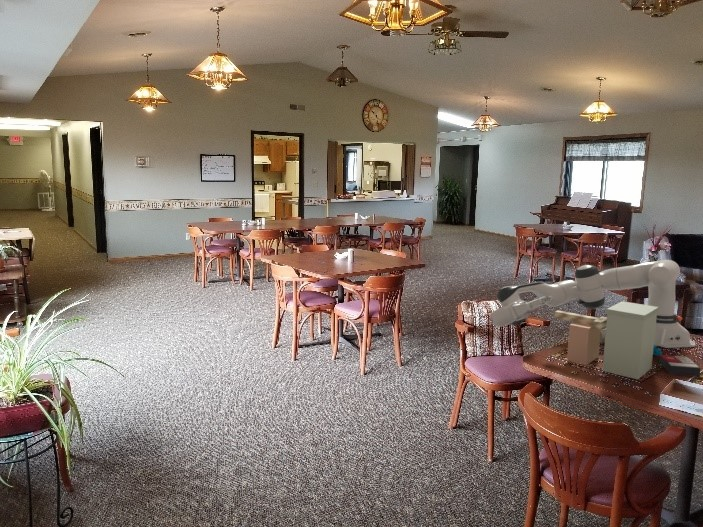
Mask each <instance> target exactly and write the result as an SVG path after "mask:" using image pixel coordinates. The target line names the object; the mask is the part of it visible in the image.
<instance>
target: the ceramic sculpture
mask: <svg viewBox="0 0 703 527" xmlns="http://www.w3.org/2000/svg"><path fill="white" fill-rule="evenodd" d="M605 335H606V329H604V328H602V329H601V332H600V344H605Z"/></svg>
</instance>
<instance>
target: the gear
mask: <svg viewBox="0 0 703 527" xmlns="http://www.w3.org/2000/svg"><path fill="white" fill-rule="evenodd" d="M657 347H658V346H657V345H654V348H653V355H654V356H656V357H657V356H658V357H659V356H661V355H663V351H662V349H661V348H659V347H658V348H657Z"/></svg>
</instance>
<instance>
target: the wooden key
mask: <svg viewBox="0 0 703 527" xmlns="http://www.w3.org/2000/svg"><path fill="white" fill-rule="evenodd" d="M553 318H554V319H558V320H562V321H568V322H572V323H574V322H577V323H582V324H587V325H592V326H593V328H596V329H604V328H606V323H607V316H600V317H595V316H591V315H590V316H589V315H586V314H585V315H584V314H579V313H574V312H567V311H564V310H559V309H558V310H556V311H554V316H553Z"/></svg>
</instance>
